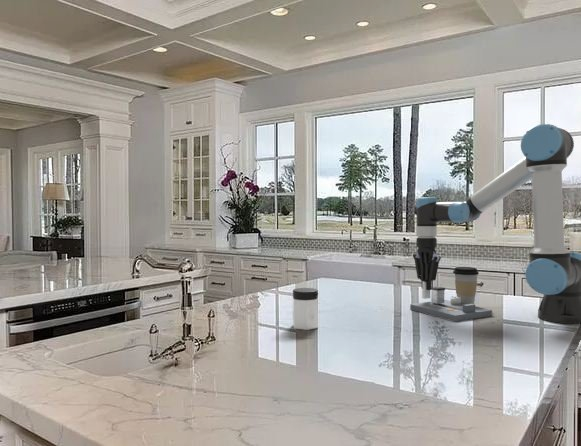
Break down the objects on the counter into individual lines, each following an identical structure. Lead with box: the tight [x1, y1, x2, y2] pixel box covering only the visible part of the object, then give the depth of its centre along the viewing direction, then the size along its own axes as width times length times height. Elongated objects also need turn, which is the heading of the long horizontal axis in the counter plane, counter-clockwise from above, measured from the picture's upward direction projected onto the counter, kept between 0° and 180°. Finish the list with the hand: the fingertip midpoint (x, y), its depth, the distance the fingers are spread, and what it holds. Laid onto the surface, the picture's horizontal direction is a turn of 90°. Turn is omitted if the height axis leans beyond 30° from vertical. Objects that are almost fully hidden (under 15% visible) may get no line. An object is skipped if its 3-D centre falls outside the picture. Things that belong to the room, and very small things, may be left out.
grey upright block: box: [430, 286, 446, 304], centre depth 184 cm, size 3×4×6 cm
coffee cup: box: [452, 266, 479, 304], centre depth 188 cm, size 9×9×15 cm
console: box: [409, 295, 493, 322], centre depth 179 cm, size 22×18×5 cm
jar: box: [292, 287, 319, 331], centre depth 158 cm, size 9×8×12 cm
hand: (426, 298), depth 189 cm, fingers closed
